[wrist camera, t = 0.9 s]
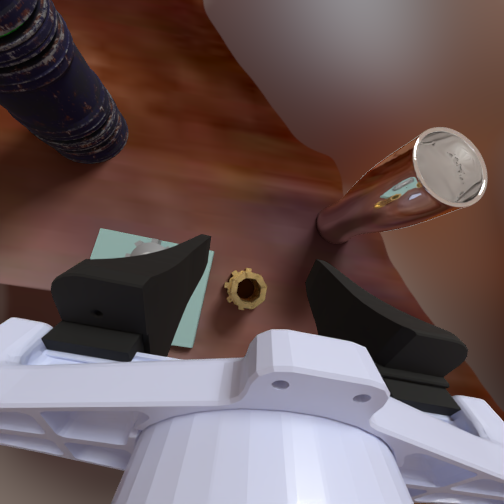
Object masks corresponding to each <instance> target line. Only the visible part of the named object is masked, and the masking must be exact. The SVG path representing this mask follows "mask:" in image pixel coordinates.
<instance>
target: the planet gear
mask: <svg viewBox="0 0 504 504" xmlns="http://www.w3.org/2000/svg"><path fill="white" fill-rule="evenodd" d="M231 274H232V275H233V277H232V278H230V280H229V283H227V282H225V286H224V288H228V290H227V293H228V295H229V296H228V297H227V298H226V299H227V301H228V302H229V303H230V302H232V301H233V302H234V304H235V305H238V309H240V310H244V308H249V309H254V308H255V307H257V306H258V305H259V304H261V303H262V302H263V301H265V295H266V289H267V286H266V284H265V283H264V281H263V278H262V276H261V275H259V274H255V273H251V269H250V268H246V269H245V271H240V272H239V273H238V272H237V271H236V270H235V271H234V272H232V273H231ZM244 279H250V280H251V282H252V283H253V285H254V291H253V294H252V295H251V296H250V297H248V298H247V299H245V298H240V297H239V296H238V295H237V288H238V283H239V282H241V281H242V280H244Z"/></svg>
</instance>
